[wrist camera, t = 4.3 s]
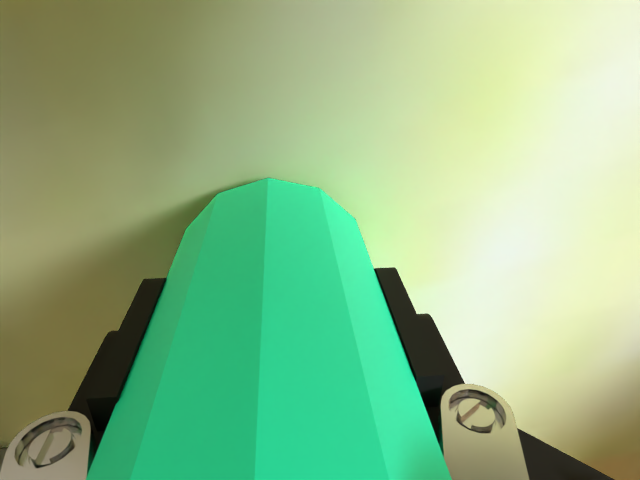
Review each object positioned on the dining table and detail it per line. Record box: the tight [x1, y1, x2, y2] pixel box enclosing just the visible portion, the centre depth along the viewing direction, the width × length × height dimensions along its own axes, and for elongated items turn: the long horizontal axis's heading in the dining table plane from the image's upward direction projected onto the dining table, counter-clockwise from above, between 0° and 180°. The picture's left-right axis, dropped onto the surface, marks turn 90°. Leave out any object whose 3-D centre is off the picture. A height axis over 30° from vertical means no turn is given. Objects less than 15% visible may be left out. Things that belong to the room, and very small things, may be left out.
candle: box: [86, 178, 452, 480], centre depth 9 cm, size 6×6×12 cm
